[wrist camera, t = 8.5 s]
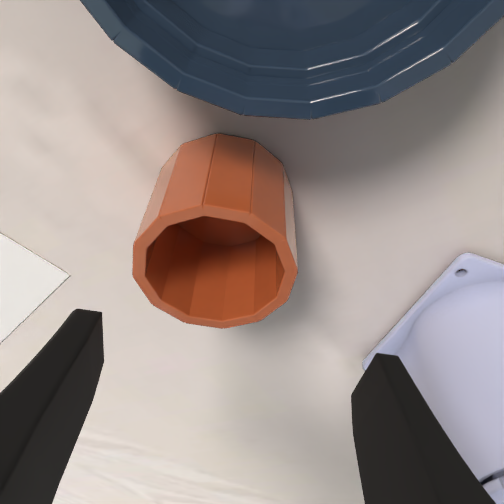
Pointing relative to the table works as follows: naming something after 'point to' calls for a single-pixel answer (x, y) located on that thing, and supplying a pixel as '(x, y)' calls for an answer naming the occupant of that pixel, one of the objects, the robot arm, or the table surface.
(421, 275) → the table surface
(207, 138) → the orange hollow tube
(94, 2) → the serving bowl
